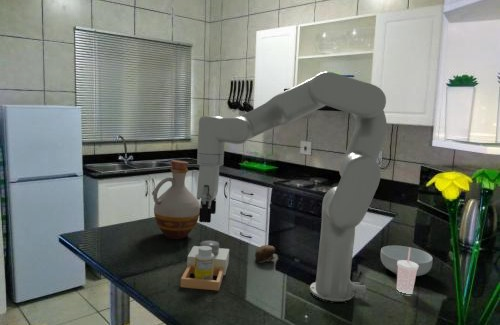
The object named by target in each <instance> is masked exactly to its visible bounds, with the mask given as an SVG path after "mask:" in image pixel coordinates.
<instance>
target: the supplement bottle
mask: <svg viewBox="0 0 500 325" xmlns="http://www.w3.org/2000/svg"><path fill="white" fill-rule="evenodd" d="M199 246H200V245H199ZM213 270H214V254H213V253H212V248H211V247H210V246H200V247H199V250H198V253H197V254H196V257H195V274H193V275H194V277H193V278H195V279H206V280H214V276H213Z"/></svg>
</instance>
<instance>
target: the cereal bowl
mask: <svg viewBox="0 0 500 325" xmlns="http://www.w3.org/2000/svg"><path fill="white" fill-rule="evenodd" d="M409 247H410V246H405V245H404V246H403V245H386V246H383V247H381V249H380V261H381V263H382V264H383V266H384V267H385V268H386V269H388V270H389V271H391V272H392V273H393V274H395V275H397V273H398V265H397V261H399V260H408V253H409ZM410 248H411V250H410V258H409V261H412V262H414V263H417V264H418V265H419V267H418V269H417V273H416V277H419V276H423V275H426V274H427V273H428V272H430V271H431V269H432V266H433V262H434V261H433V260H434V259H433V256H432V255H431V254H430V253H428V252H427V251H424V250H422V249H418V248H414V247H410Z"/></svg>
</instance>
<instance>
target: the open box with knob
mask: <svg viewBox="0 0 500 325" xmlns="http://www.w3.org/2000/svg"><path fill="white" fill-rule="evenodd" d="M200 246H210V247H211V248H212V253H213V254H214V270H213V277H214V276H215V277H217V278H216V280H215V279H213V280H206V279H195V278H194V277H193V278H192V277H190V276H191V274H192V275H195V257H196V254H197V253H198V250H199V247H200ZM229 260H230V248H221V247H220V242H219V241H216V240H215V241H214V240H202V241H201V242H200V244H199V246H198V245H193V246H192V248H191V250H190V252H189V253H188V255H187V260H186V269H185V270H184V272H183V274H182V276H181V277H180V286H179V287H180V288H187V289H198V290H210V291H217V292H218V291H220V287H221V284H222V282H223V278H224V276H225V275H226V273H227V269H228V267H229Z"/></svg>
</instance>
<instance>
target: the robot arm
mask: <svg viewBox="0 0 500 325" xmlns="http://www.w3.org/2000/svg"><path fill="white" fill-rule="evenodd" d="M386 104H387V97H386V94H385V92H384V91H383V90H382V89H381V88H380V87H379V86H377V85H375V84H371V83H369V82H365V81H361V80H358V79H356V78H351V77H349V76H345V75H342V74H339V73H335V72H331V71H323V72H320V73H318V74H316V75H315V76H314V77H312V78H310V79H309V78H308V79H307V80H305V81H303V82H301V83H299V84H296V85H295V86H293V87H291V88H289V89H286V90H285V91H282V92H280V93H278V94H277V95H275V96H273V97H272V98H270V99H269V100H267V101H266V102H264V103H263V104H261V105H259V106H257V107H255V108H253V109H252V110H249V111H247V112H246V113H244V114H241V115H239V116H236V117H235V116H234V117H222V116H217V115H216V116H215V115H203V116H200V118H199V120H198V134H197V135H198V136H197V137H198V139H197V153H196V154H197V157H196V160H197V162H196V165H198V166H199V168H198V177H197V187H196V189H197V190H196V199H197V200H198V201H199V200H200V202H199V204H200V212H199V218H198V221H199V222H200V223H207V224H208V223H211V222H212V215H215V214H216V212H217V211H216V209H217V195H218V192H219V184H220V183H219V179H220V167H222V166H224V157H225V143H228V144H233V145H242V144H244V143H246V142H247V141H248V140H250V139H253V138H254V137H257V136H258V135H260V134H263V133H265V132H267V131H269V130H271V129H274V128H277V127H279V126H284V125H287V124H289V123H292V122H294V121H296V120H299V119H301V118H302V117H305V116H307V115H309V114H311V113H313V112H315V111H317V110H320V109H322V108H324V107H326V106H327V107H331V108H333V109H337V110H339V111H343V112H345V113H349V114H351V115H352V117H353V118H354V130H353V134H352V136H351V138H350V141H349V144H348V147H347V149H346V151H345V153H344V154H343V157H342V159H341V161H340V163H339V167H338V169H339V170H338V171H339V175H340V180H339V182H338V184H337V186H334V187H333V186H332V187H331V188H330V189H328V191H326V193H325V194H324V196H323V199H322V203H321V204H322V205H321V224H320V225H321V227H320V239H319V244H318V246H319V248H318V257H317V258H318V259H317V266H316V267H317V268H316V276H315V277H316V278H315V282H312V283H311V284H310V286H309V291H310V292H309V293H310V294H311V293H312V294H313V295H312V294H311V295H312V296H314V295H315V296H317V297H319V298H322V299H326V300H330V301H345V300H349V299H351V298H352V297H353V296H354V295H355V292H358V293H366V292H367V286H366V285H362V284H360V282H357V281H352V280H351V273H352V272H351V271H352V263H353V253H354V245H355V237H356V227H357V226H358V225H360V224H361V222H362V221H363V219H365V218H364V217H365V216H366V214H367V212H368V209H369V208H370V206H371V203H372V201H373V199H374V196H375V194H376V191H377V190H378V187H379V184H380V181H381V175H382V173H381V171H382V170H381V167H380V164H379V163H378V161H377V160H378V159H379V155H380V154H381V150H382V147H383V145H384V142H385V139H386V135H387V130H388V127H387V126H388V123H387V118H386V112H385V111H384V110H385V107H386ZM315 296H314V297H315ZM317 297H316V298H317ZM354 297H355V296H354ZM354 297H353V298H354Z"/></svg>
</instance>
